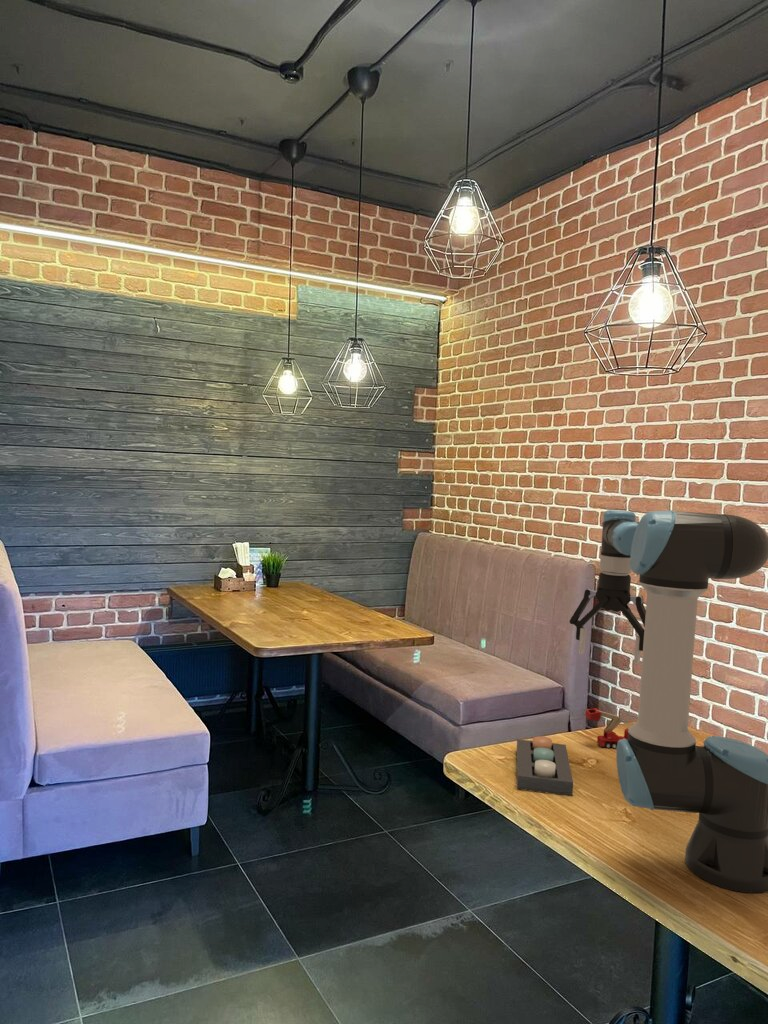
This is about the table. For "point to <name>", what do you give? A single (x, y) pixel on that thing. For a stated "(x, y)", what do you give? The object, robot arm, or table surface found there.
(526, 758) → the panel
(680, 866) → the table surface
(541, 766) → the button ivory
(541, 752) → the button teal
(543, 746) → the button terracotta
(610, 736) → the toy fire truck
